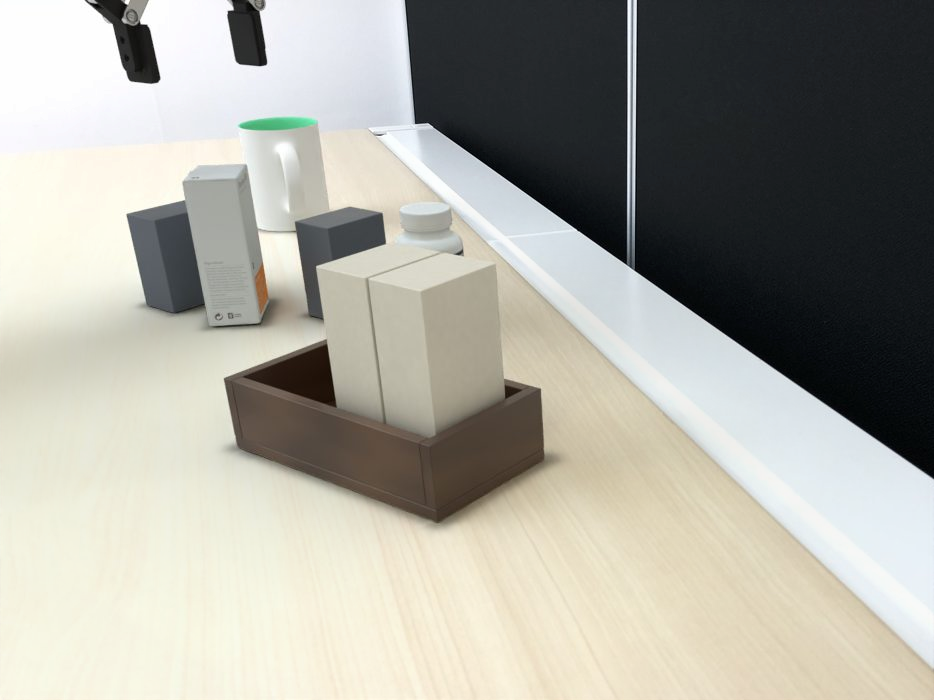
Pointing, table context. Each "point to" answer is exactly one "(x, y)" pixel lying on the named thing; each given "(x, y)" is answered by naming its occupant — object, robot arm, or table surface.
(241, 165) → the cosmetic box
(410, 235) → the pill bottle
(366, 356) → the cream box
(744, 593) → the table surface
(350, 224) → the grey block front
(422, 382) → the cream box
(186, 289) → the grey block back
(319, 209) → the mug
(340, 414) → the brown wooden open box
